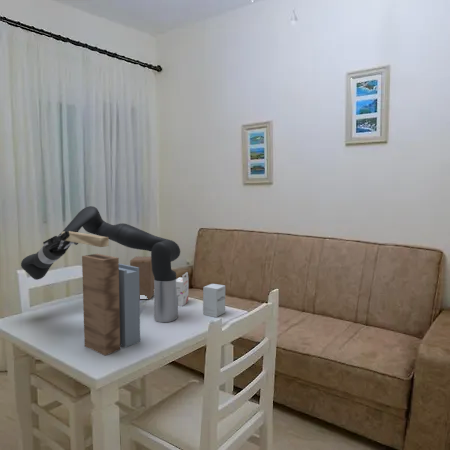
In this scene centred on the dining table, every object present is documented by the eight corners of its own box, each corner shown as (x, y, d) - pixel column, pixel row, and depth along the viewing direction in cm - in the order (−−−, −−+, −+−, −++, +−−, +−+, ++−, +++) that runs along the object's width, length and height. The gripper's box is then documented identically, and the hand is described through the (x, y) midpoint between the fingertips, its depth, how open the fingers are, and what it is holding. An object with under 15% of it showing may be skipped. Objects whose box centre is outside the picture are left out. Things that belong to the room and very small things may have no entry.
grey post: (119, 333, 146) (117, 263, 143) (140, 341, 138) (139, 267, 136) (104, 338, 140) (103, 265, 138) (125, 347, 133) (124, 270, 130)
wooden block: (150, 300, 188) (150, 260, 186) (130, 299, 188) (129, 259, 186) (154, 294, 198) (154, 256, 196) (135, 294, 198) (134, 256, 196)
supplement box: (216, 317, 164) (216, 289, 163) (202, 314, 168) (202, 286, 167) (225, 313, 170) (226, 285, 169) (211, 310, 174) (212, 282, 173)
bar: (69, 239, 143) (69, 231, 142) (108, 246, 128) (108, 237, 128) (61, 239, 140) (61, 231, 140) (101, 247, 126) (100, 238, 126)
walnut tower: (99, 340, 139) (97, 253, 135) (120, 349, 131) (118, 257, 128) (84, 346, 134) (81, 256, 131) (105, 355, 127) (103, 260, 123)
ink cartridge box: (179, 300, 189) (178, 270, 187) (188, 300, 188) (188, 271, 186) (173, 305, 180) (173, 274, 179) (183, 306, 179) (183, 275, 178)
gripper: (31, 244, 143) (51, 224, 133) (66, 240, 154) (87, 222, 145) (36, 263, 142) (57, 244, 132) (71, 257, 153) (93, 240, 143)
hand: (72, 232), depth 138 cm, fingers closed on bar, 3 cm apart
